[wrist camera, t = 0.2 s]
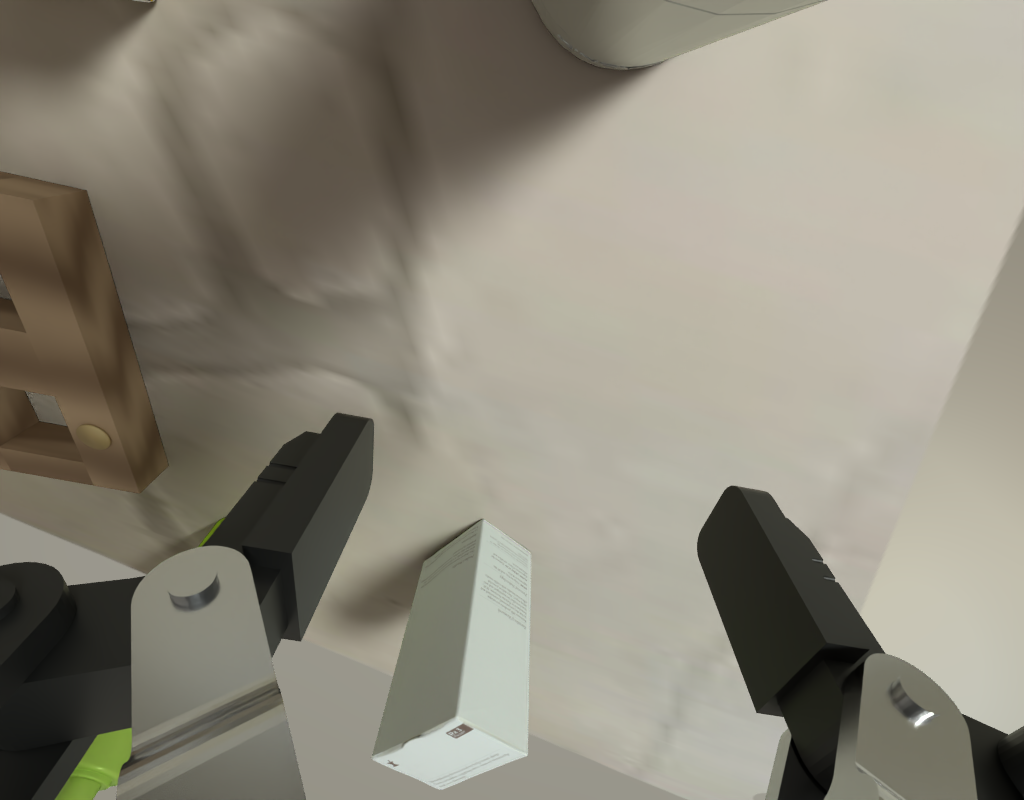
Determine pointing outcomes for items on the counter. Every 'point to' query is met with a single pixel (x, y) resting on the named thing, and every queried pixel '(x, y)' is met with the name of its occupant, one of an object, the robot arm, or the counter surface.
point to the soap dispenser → (103, 757)
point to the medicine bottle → (145, 0)
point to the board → (68, 347)
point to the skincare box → (462, 664)
